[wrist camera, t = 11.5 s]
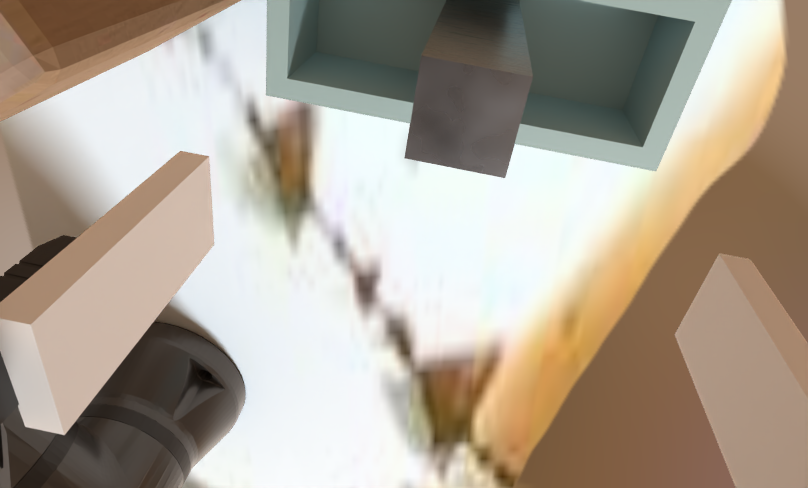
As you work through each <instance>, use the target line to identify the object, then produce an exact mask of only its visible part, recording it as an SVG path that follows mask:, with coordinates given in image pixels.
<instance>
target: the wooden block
mask: <svg viewBox="0 0 808 488" xmlns="http://www.w3.org/2000/svg"><path fill="white" fill-rule="evenodd" d="M239 1H241V0H0V121H2V120H5V119H7V118H9V117H11V116H13V115H15V114H17V113H19V112H21V111H23V110H26V109H28V108H30V107H32V106H34V105H36V104H38V103H40V102H42V101H44V100H47V99H49V98H51V97H53V96H55V95H57V94H59V93H61V92H63V91H65V90H68V89H70V88H72V87H74V86H76V85H78V84H80V83H82V82H84V81H86V80H89V79H91V78H93V77H95V76H97V75H99V74H101V73H103V72H105V71H107V70H110V69H112V68H114V67H116V66H118V65H120V64H122V63H124V62H126V61H128V60H131V59H133V58H135V57H137V56H139V55H141V54H143V53H145V52H147V51H149V50H151V49H153V48H155V47H157V46H158V45H160V44H162V43H164V42H166V41H168V40H169V39H171V38H173V37H175V36H177V35H179V34H180V33H182V32H184V31H186V30H188V29H190V28H191V27H193V26H195V25H197V24H199V23H200V22H202V21H204V20H206V19H208V18H210V17H211V16H213V15H215V14H217V13H219V12H221V11H222V10H224V9H226V8H228V7H230V6H232V5H233V4H235V3H237V2H239Z"/></svg>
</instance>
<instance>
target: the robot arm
mask: <svg viewBox="0 0 808 488" xmlns="http://www.w3.org/2000/svg"><path fill="white" fill-rule="evenodd" d="M213 245H214V232H213V215H212V198H211V181H210V164H209V156H204V155H199V154H194V153H188V152H183V151H180V152H179V153H177V154H176V155H175V156H174V157H173V158H171V159H170V160H169V161H168V162H167V163H166V164H164V165H163V166H162V167H161V168H160V169H158V170H157V171H156V172H155V173H154V174H152V175H151V176H150V177H149V178H148V179H146V180H145V181H144V182H143V183H142V184H141V185H139V186H138V187H137V188H136V189H135V190H133V191H132V192H131V193H130V194H129V195H127V196H126V197H125V198H124V199H123V200H122V201H120V202H119V203H118V204H117V205H116V206H114V207H113V208H112V209H111V210H110V211H108V212H107V213H106V214H105V215H104V216H102V217H101V218H100V219H99V220H98V221H97V222H95V223H94V224H93V225H92V226H91V227H89V228H88V229H87V230H86V231H85V232H83V233H82V234H81V235H80V236H79V237H77V238H75V237H70V236H65V235H63V236H61V237H58V238H56V239H54V240H51V241H49V242H47V243H45V244H42V245H40V246H38V247H37V248H35V249H34V250H33V251H32V252H30V253H29V254H28V255H27V256H25V257H24V258H23V259H22V260H20V263H19V264H15V265H14V266H12V267H11V268H10V269H9V270H7V271H6V272H5V273H4V276H0V488H182V486H183V484H184V482H185V480H186V478H187V476H188V475H189V473H190V471H191V469H192V468H193V467H194V466H195V465H196V464H197V463H198V462H199V461H200V460H201V459H202V458H203V457H204V456H205V455H206V454H207V453H208V452H209V451H210V450H211V449H212V448H213V447H214V446H215V445H216V444H217V443H218V442H219V441H220V440H221V439H222V438H223V437H224V436H225V435H226V434H227V433H228V432H229V431H230V430H231V429H232V427H233V426H234V424H235V423H236V421H237V419H238V417H239V415H240V412H241V410H242V408H243V406H244V403H245V387H244V383H243V380H242V378H241V376H240V374H239V372H238V370H237V369H236V367H235V366H234V364H233V363H232V362H231V361H230V360H229V358H228V357H227V356H226V355H225V354H224V353H223V352H221V351H220V350H219V349H218V348H217V347H215V346H214V345H213V344H211V343H210V342H208V341H207V340H205V339H203V338H202V337H200V336H198V335H196V334H194V333H192V332H190V331H187V330H185V329H182V328H179V327H176V326H172V325H168V324H163V323H155V322H154V321H155V319H156V318H157V317H158V316H159V314H160V313H161V312H162V310H163V309H164V308H165V307H166V305H167V304H168V303H169V301H170V300H171V299H172V298H173V296H174V295H175V294H176V293H177V291H178V290H179V289H180V287H181V286H182V285H183V284H184V282H185V281H186V280H187V279H188V277H189V276H190V275H191V273H192V272H193V271H194V270H195V268H196V267H197V266H198V265H199V263H200V262H201V261H202V259H203V258H204V257H205V256H206V254H207V253H208V252H209V251H210V249H211V248H212V247H213ZM675 337H676V339H677V342H678V344H679V347H680V350H681V352H682V355H683V357H684V359H685V362H686V364H687V367H688V370H689V372H690V375H691V377H692V379H693V382H694V385H695V387H696V390H697V392H698V395H699V397H700V400H701V402H702V405H703V407H704V410H705V412H706V414H707V417H708V420H709V422H710V425H711V427H712V430H713V432H714V435H715V437H716V439H717V442H718V445H719V447H720V450H721V452H722V454H723V457H724V459H725V462H726V465H727V467H728V469H729V472H730V474H731V477H732V480H733V482H734V485H735V487H736V488H808V343H807V342H806V340H805V339H804V337H803V336H802V334H801V333H800V332H799V330H798V328H797V327H796V326H795V324H794V323H793V321H792V320H791V318H790V317H789V315H788V314H787V312H786V311H785V309H784V308H783V307H782V305H781V304H780V302H779V301H778V299H777V298H776V296H775V295H774V293H773V292H772V290H771V289H770V287H769V286H768V285H767V283H766V282H765V280H764V279H763V277H762V276H761V274H760V273H759V271H758V270H757V268H756V267H755V266H754V264H753V263H752V261H751V260H750V259H746V258H741V257H735V256H730V255H725V254H719V255H718V257H717V259H716V260H715V262H714V264H713V266H712V268H711V269H710V271H709V273H708V275H707V277H706V279H705V280H704V282H703V284H702V286H701V288H700V290H699V291H698V293H697V295H696V297H695V299H694V300H693V302H692V304H691V306H690V308H689V309H688V311H687V313H686V315H685V317H684V319H683V320H682V322H681V324H680V326H679V328H678V330H677V331H676V333H675Z"/></svg>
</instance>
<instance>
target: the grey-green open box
mask: <svg viewBox="0 0 808 488" xmlns="http://www.w3.org/2000/svg"><path fill="white" fill-rule="evenodd" d="M519 1H520V7H521V12H522V18H523V23H524V29H525V35H526V40H527V46H528V51H529V57H530V62H531V68H532V74H533V79H532V83H531V86H530V90H529V93H528V97H527V101H526V104H525V108H524V111H523V115H522V119H521V122H520V126H519V129H518V133H517V137H516V140H515V144H519V145H524V146H529V147H534V148H539V149H544V150H549V151H554V152H560V153H565V154H570V155H575V156H580V157H585V158H590V159H595V160H601V161H606V162H611V163H616V164H621V165H626V166H631V167H637V168H642V169H647V170H652V171H656V170H657V168H658V166H659V164H660V161H661V159H662V157H663V155H664V152H665V150H666V148H667V146H668V143H669V141H670V139H671V137H672V134H673V132H674V130H675V127H676V125H677V123H678V121H679V118H680V116H681V114H682V112H683V109H684V107H685V105H686V103H687V100H688V98H689V96H690V94H691V91H692V89H693V87H694V85H695V82H696V80H697V78H698V75H699V73H700V71H701V69H702V66H703V64H704V62H705V60H706V57H707V55H708V53H709V51H710V48H711V46H712V44H713V42H714V39H715V37H716V35H717V33H718V30H719V28H720V26H721V23H722V21H723V19H724V17H725V14H726V12H727V10H728V8H729V5H730V3H731V1H732V0H519ZM445 2H446V0H267V62H266V95H267V96H273V97H278V98H283V99H288V100H293V101H298V102H303V103H308V104H314V105H319V106H324V107H329V108H334V109H339V110H344V111H349V112H355V113H360V114H365V115H370V116H375V117H380V118H385V119H390V120H396V121H401V122H406V123H410V122H411V116H412V109H413V103H414V97H415V91H416V85H417V79H418V72H419V66H420V60H421V55H422V53H423V51H424V48H425V46H426V44H427V42H428V39H429V37H430V35H431V33H432V31H433V28H434V26H435V24H436V22H437V19H438V17H439V15H440V13H441V11H442V8H443V6H444V4H445Z"/></svg>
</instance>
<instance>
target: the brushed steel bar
mask: <svg viewBox="0 0 808 488" xmlns="http://www.w3.org/2000/svg"><path fill="white" fill-rule="evenodd" d="M532 79H533V74H532V68H531V62H530V57H529V51H528V46H527V40H526V35H525V29H524V23H523V18H522V12H521V7H520V1H519V0H446V2H445V4H444V6H443V8H442V11H441V13H440V15H439V17H438V19H437V22H436V24H435V26H434V28H433V31H432V33H431V35H430V37H429V39H428V42H427V44H426V46H425V48H424V51H423V53H422V55H421V60H420V66H419V72H418V79H417V85H416V91H415V97H414V103H413V109H412V116H411V122H410V128H409V134H408V140H407V146H406V153H405V158H407V159H412V160H417V161H422V162H427V163H432V164H437V165H442V166H447V167H452V168H457V169H462V170H467V171H472V172H477V173H482V174H488V175H493V176H498V177H503V178H505V176H506V173H507V169H508V165H509V162H510V158H511V155H512V151H513V147H514V144H515V140H516V137H517V133H518V129H519V126H520V122H521V119H522V115H523V111H524V108H525V104H526V101H527V97H528V93H529V90H530V86H531V83H532Z"/></svg>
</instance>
